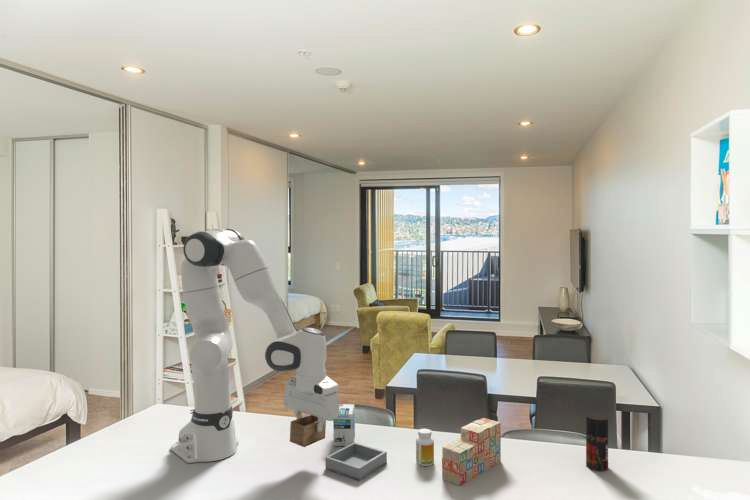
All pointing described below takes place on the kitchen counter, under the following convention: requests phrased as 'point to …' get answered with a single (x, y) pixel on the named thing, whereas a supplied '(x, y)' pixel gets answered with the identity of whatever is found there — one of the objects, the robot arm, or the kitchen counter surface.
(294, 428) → the small crate
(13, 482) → the kitchen counter surface
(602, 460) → the deodorant
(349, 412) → the light bulb box
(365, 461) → the grey square tray
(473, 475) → the stack of blocks
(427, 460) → the supplement bottle
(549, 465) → the kitchen counter surface
